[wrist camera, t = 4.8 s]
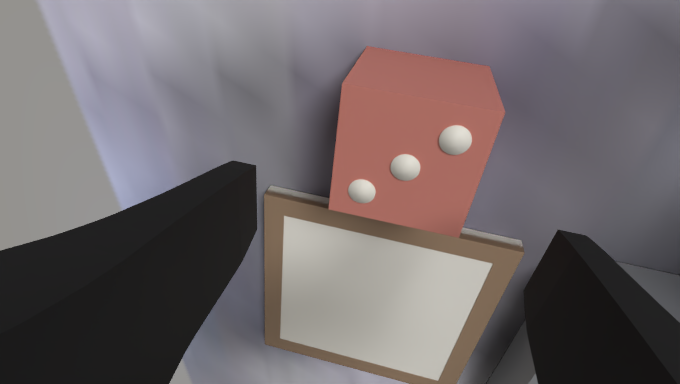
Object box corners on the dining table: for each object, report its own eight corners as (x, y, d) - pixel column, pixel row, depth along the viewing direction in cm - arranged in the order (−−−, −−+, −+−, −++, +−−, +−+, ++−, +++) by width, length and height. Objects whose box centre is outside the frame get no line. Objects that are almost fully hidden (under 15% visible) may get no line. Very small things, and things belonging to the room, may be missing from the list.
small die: (489, 65, 14) (505, 113, 10) (455, 170, 17) (458, 239, 13) (367, 45, 15) (341, 84, 11) (352, 150, 17) (327, 210, 14)
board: (521, 240, 18) (524, 252, 17) (450, 381, 25) (450, 394, 24) (270, 185, 19) (264, 194, 18) (269, 333, 26) (264, 344, 25)
